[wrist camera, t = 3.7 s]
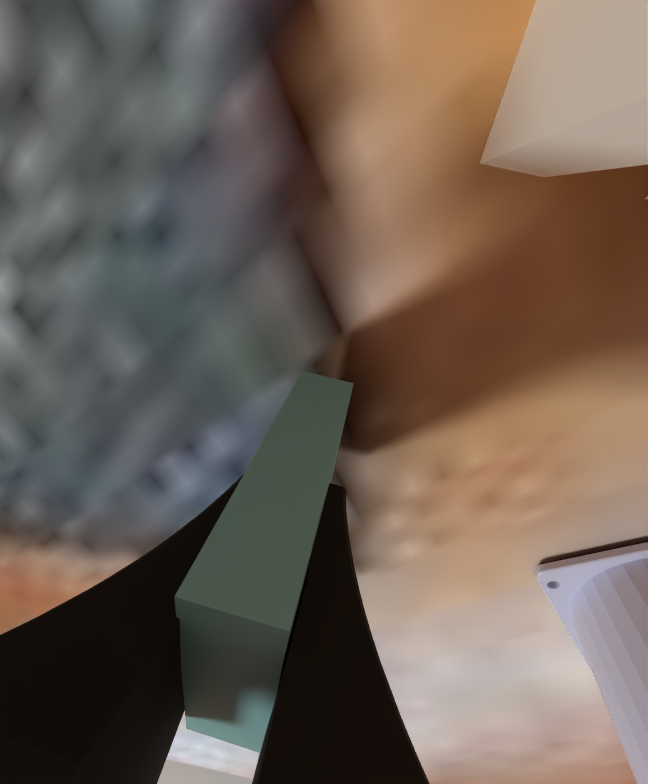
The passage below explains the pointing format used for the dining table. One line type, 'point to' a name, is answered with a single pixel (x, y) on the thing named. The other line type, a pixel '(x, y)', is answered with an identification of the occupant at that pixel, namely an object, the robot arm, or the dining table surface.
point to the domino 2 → (576, 91)
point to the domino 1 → (258, 568)
